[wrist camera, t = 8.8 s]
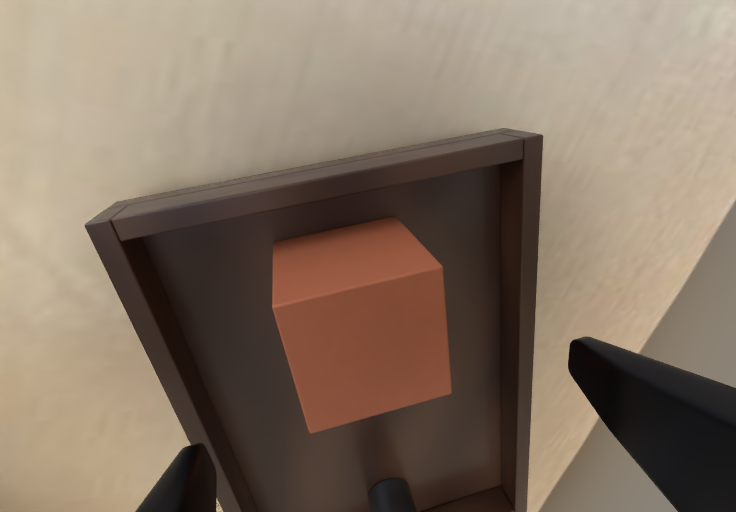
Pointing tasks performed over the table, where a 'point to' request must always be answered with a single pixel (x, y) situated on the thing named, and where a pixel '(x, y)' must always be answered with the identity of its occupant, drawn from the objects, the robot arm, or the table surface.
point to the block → (361, 321)
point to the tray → (265, 347)
